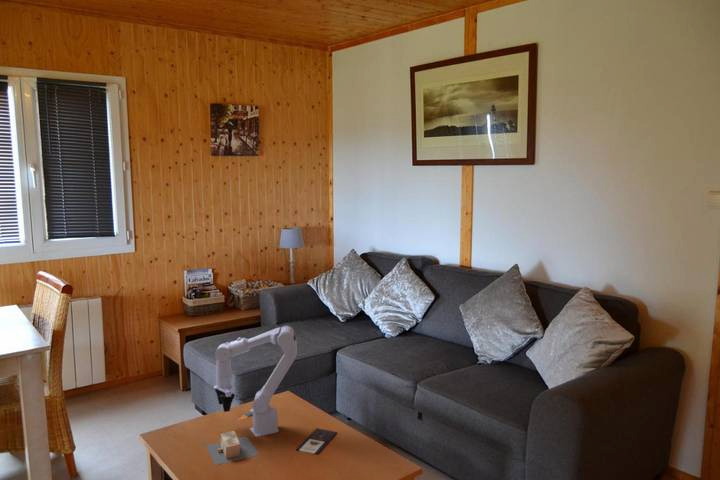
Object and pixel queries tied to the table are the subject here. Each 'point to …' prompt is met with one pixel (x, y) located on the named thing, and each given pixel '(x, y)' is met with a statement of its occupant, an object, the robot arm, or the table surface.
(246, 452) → the rubber mat
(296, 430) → the table surface
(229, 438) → the birch block
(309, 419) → the table surface
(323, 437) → the chocolate bar
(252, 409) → the key chain
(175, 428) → the table surface
